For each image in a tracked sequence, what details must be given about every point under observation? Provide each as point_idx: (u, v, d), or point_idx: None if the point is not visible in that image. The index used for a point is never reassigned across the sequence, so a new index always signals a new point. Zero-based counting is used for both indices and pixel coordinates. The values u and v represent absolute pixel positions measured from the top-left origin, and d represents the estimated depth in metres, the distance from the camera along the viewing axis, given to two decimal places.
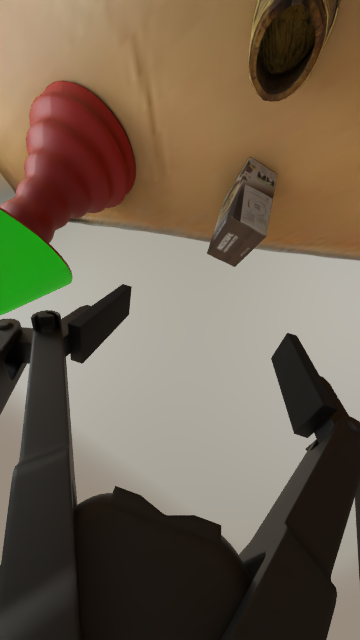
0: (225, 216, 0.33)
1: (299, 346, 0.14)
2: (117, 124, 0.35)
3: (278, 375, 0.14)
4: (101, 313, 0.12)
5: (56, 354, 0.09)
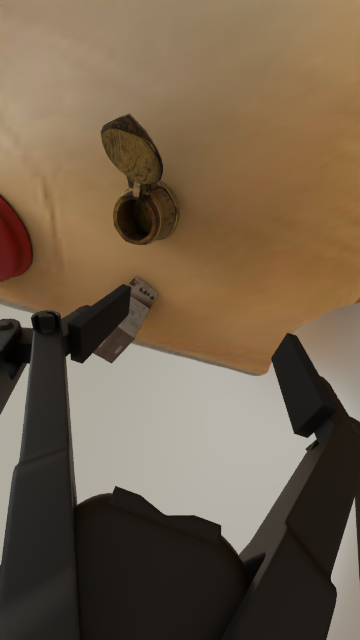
0: None
1: (299, 346, 0.14)
2: (17, 221, 0.38)
3: (278, 375, 0.14)
4: (101, 313, 0.12)
5: (56, 354, 0.09)
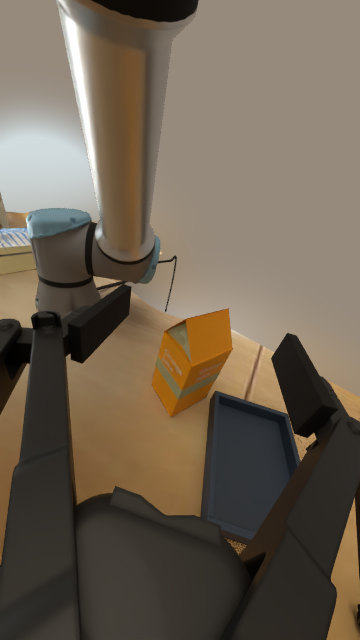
0: None
1: (299, 346, 0.14)
2: None
3: (278, 375, 0.14)
4: (101, 313, 0.12)
5: (56, 354, 0.09)
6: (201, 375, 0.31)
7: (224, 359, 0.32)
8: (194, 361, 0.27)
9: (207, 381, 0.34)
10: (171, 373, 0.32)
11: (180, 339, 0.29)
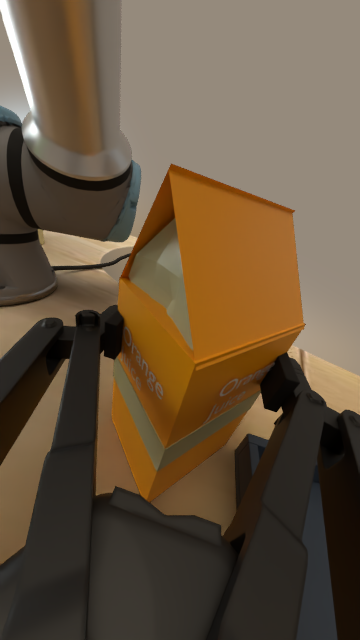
0: None
1: None
2: None
3: None
4: None
5: (93, 351, 0.09)
6: (223, 400, 0.11)
7: None
8: (205, 346, 0.07)
9: (235, 414, 0.14)
10: (139, 394, 0.12)
11: (159, 286, 0.09)
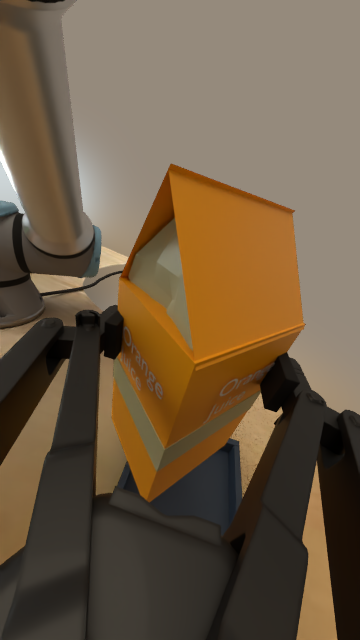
0: None
1: None
2: None
3: None
4: None
5: (93, 351, 0.09)
6: (223, 400, 0.11)
7: None
8: (205, 346, 0.07)
9: (234, 414, 0.14)
10: (139, 394, 0.12)
11: (159, 286, 0.09)
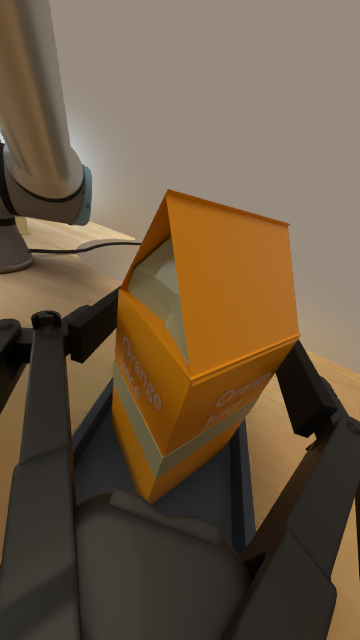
0: None
1: (299, 346, 0.14)
2: None
3: (278, 375, 0.14)
4: (101, 313, 0.12)
5: (56, 354, 0.09)
6: (220, 409, 0.11)
7: (276, 365, 0.13)
8: (201, 362, 0.07)
9: (232, 420, 0.14)
10: (138, 403, 0.12)
11: (157, 300, 0.10)
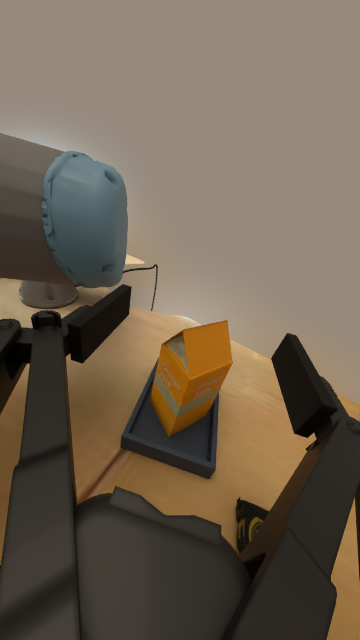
0: None
1: (299, 346, 0.14)
2: None
3: (278, 375, 0.14)
4: (101, 313, 0.12)
5: (56, 354, 0.09)
6: (200, 390, 0.29)
7: (224, 373, 0.31)
8: (192, 374, 0.26)
9: (208, 397, 0.33)
10: (169, 388, 0.30)
11: (178, 352, 0.28)
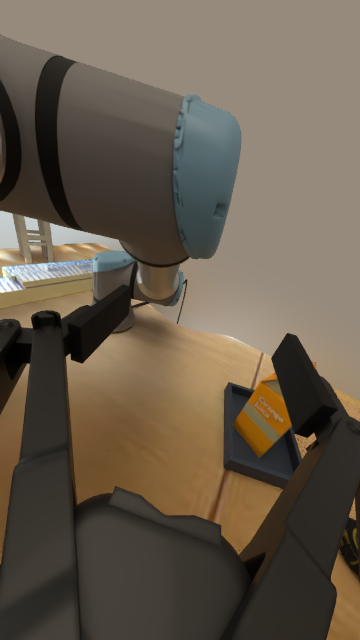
0: None
1: (299, 346, 0.14)
2: None
3: (278, 375, 0.14)
4: (101, 313, 0.12)
5: (56, 354, 0.09)
6: None
7: None
8: None
9: None
10: (266, 419, 0.36)
11: (279, 390, 0.34)
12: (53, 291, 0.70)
